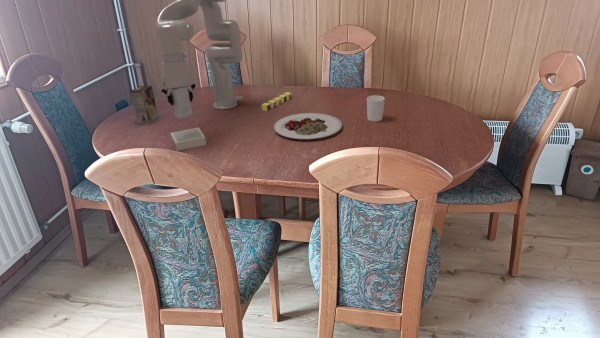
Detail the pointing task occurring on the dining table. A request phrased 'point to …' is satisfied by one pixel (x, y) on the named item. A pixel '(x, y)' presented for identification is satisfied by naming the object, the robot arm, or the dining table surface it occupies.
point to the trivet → (188, 139)
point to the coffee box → (144, 104)
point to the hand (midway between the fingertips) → (181, 102)
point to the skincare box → (181, 102)
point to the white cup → (375, 108)
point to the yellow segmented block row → (276, 101)
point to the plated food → (308, 126)
